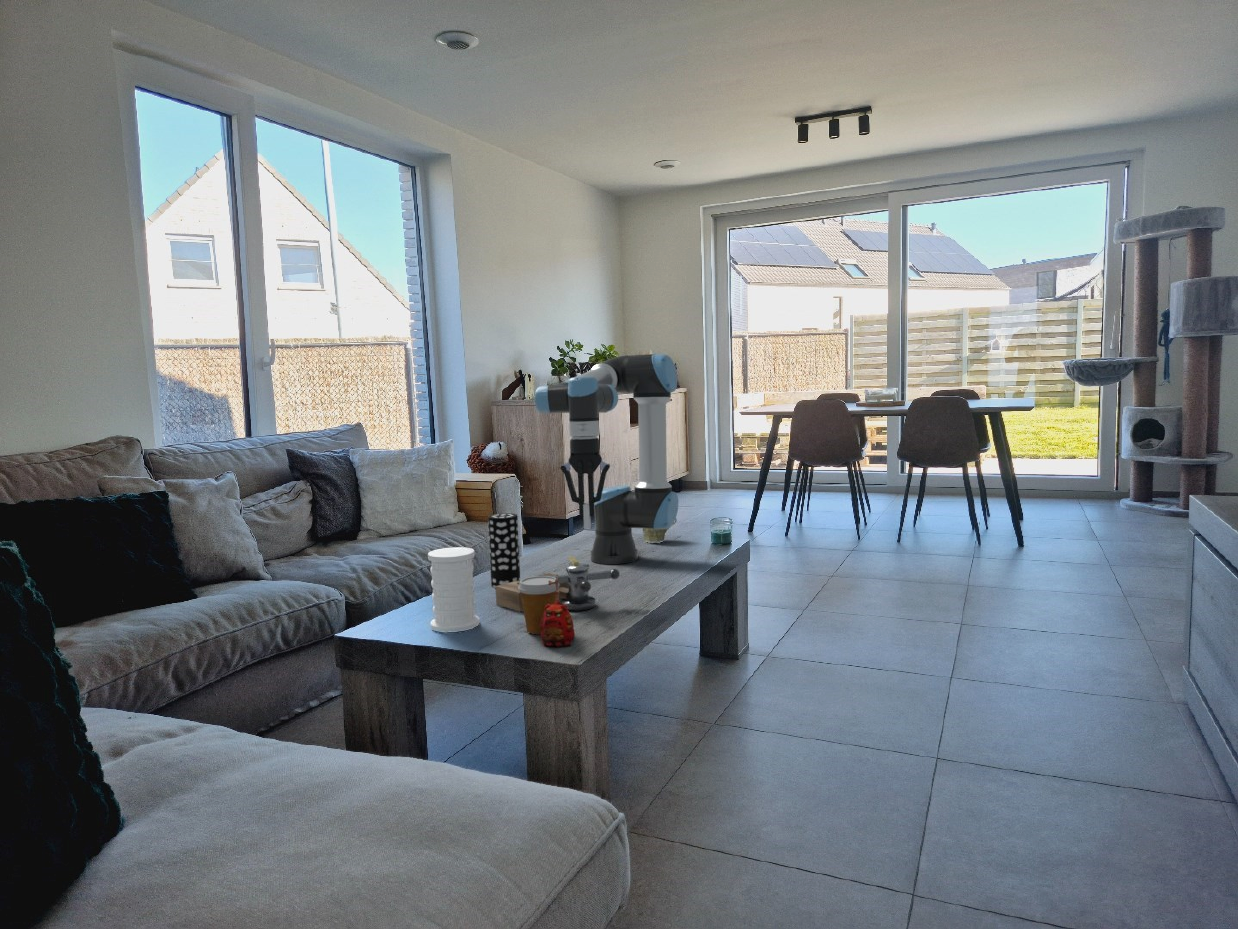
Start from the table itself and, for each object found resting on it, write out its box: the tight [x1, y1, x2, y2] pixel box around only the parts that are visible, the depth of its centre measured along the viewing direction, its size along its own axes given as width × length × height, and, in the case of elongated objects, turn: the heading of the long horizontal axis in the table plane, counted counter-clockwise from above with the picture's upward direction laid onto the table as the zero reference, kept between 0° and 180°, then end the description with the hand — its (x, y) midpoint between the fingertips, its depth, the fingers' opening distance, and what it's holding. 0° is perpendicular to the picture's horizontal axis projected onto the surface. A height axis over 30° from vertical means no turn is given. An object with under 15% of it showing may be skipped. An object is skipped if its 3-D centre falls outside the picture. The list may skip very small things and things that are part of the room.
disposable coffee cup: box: [518, 575, 559, 635], centre depth 187 cm, size 10×10×12 cm
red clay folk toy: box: [540, 573, 575, 648], centre depth 177 cm, size 8×7×15 cm
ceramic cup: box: [641, 518, 677, 543], centre depth 283 cm, size 13×10×10 cm
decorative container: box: [427, 546, 480, 632], centre depth 192 cm, size 12×12×18 cm
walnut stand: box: [495, 572, 569, 613], centre depth 210 cm, size 18×16×6 cm
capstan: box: [551, 555, 620, 612], centre depth 204 cm, size 22×22×11 cm
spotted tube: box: [487, 512, 521, 589], centre depth 229 cm, size 8×8×20 cm
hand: (587, 528), depth 208 cm, fingers closed
